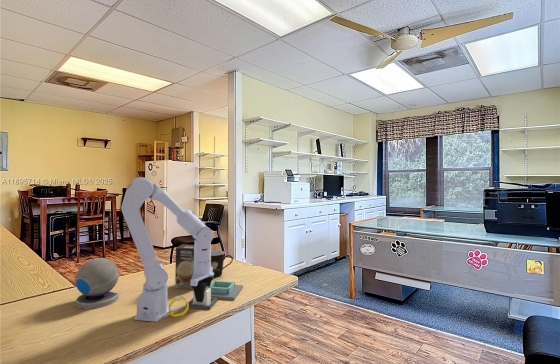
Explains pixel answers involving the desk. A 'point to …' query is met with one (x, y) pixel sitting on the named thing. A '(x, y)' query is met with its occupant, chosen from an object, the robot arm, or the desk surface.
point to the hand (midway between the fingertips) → (202, 299)
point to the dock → (225, 290)
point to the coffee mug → (218, 262)
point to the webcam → (96, 283)
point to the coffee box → (184, 266)
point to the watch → (178, 298)
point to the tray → (202, 305)
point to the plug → (206, 297)
